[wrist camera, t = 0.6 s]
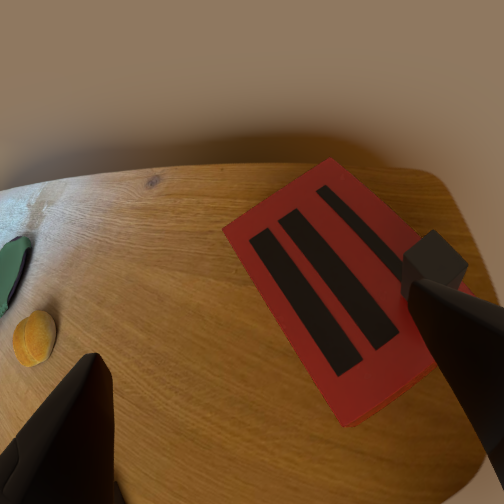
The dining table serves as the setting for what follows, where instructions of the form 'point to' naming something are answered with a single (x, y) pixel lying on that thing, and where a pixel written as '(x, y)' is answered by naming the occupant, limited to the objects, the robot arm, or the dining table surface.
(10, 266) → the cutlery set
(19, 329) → the bread roll
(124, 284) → the dining table surface
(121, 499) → the block
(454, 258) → the slider
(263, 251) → the toaster
